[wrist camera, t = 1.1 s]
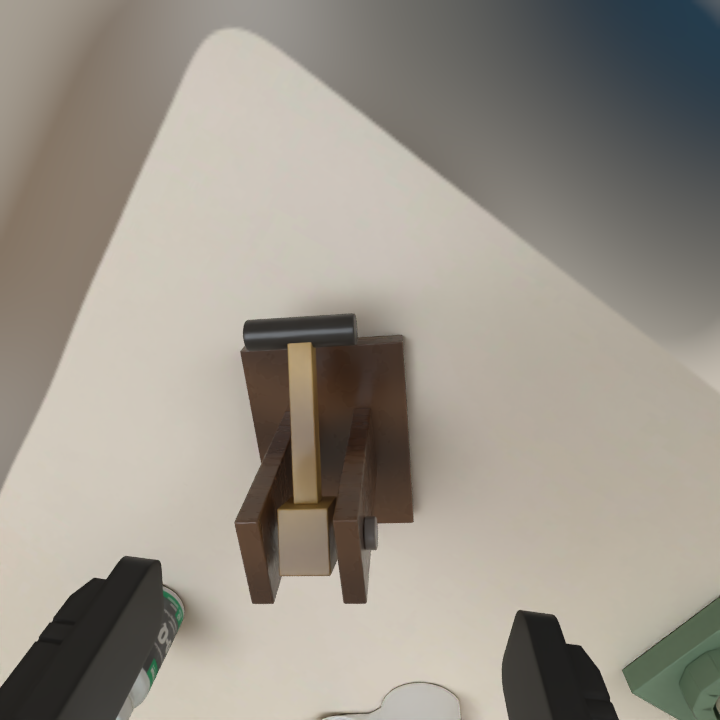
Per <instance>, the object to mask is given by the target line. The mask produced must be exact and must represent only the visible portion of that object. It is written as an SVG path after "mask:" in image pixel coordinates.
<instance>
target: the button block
mask: <svg viewBox="0 0 720 720" xmlns="http://www.w3.org/2000/svg"><path fill="white" fill-rule="evenodd" d="M622 671H623V674H624V676H625V678H626V680H627V683H628V685H629V687H630V690H631V692H632V693H633V694H635V695H636V696H638V697H640V698H642V699H643V700H645V701H647V702H649V703H650V704H652V705H654V706H656V707H657V708H659V709H661V710H663V711H664V712H666V713H668V714H670V715H671V716H673V717H675V718H677V719H678V720H720V714H719V712H718V710H717V708H716V701H717V699H718V697H719V696H720V597H719V598H718V599H716V600H715V601H714V602H712V603H711V604H710V605H709V606H707V607H706V608H705V609H703V610H702V611H701V612H699V613H698V614H697V615H695V616H694V617H693V618H691V619H690V620H689V621H687V622H686V623H685V624H683V625H682V626H681V627H679V628H678V629H677V630H675V631H674V632H673V633H671V634H670V635H669V636H667V637H666V638H665V639H663V640H662V641H661V642H659V643H658V644H657V645H655V646H654V647H653V648H651V649H650V650H649V651H647V652H646V653H645V654H643V655H642V656H641V657H639V658H638V659H637V660H635V661H634V662H633V663H631V664H630V665H629V666H627V667H626V668H625V669H623V670H622Z"/></svg>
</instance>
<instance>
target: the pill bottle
mask: <svg viewBox="0 0 720 720" xmlns="http://www.w3.org/2000/svg"><path fill="white" fill-rule="evenodd" d="M163 598H164V617H163V622H162V626H161V629H160V632H159V635H158V637H157V640H156V642H155V644H154V646H153V648H152V650H151V652H150V654H149V655H148V657H147V659H146V661H145V663H144V665H143V667H142V669H141V671H140V673H139V675H138V677H137V679H136V681H135V683H134V685H133V687H132V689H131V691H130V693H129V695H128V697H127V699H126V701H125V703H124V705H123V707H122V708H121V710H120V712H119V714H118V716H117V718H116V720H129V718H130V716H131V713H132V711H133V709H134V708H136V707H137V706H138V705H140V704H141V703H142V702H143V701H144V699H145V698H146V696H147V694H148V692H149V690H150V688H151V686H152V684H153V682H154V680H155V678H156V675H157V673H158V671H159V669H160V667H161V665H162V663H163V661H164V659H165V657H166V655H167V652H168V651H169V648H170V647H171V644H172V642H173V640H174V638H175V635H176V634H177V632H178V629H179V627H180V625H181V623H182V621H183V618H184V606H183V603H182V601H181V600H180V598H179V597H178V596H177V595H176V594H175V593H174V592H173V591H172V590H170V589H168V588H166V587H164V586H163Z"/></svg>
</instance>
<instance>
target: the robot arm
mask: <svg viewBox="0 0 720 720" xmlns="http://www.w3.org/2000/svg"><path fill="white" fill-rule="evenodd" d="M163 617H164V598H163V584H162V569H161V563H160V561H159V560H153V559H145V558H138V557H131V556H125V557H123V558H122V559H121V560H120V561H119V562H118V563H117V565H116V566H115V568H114V569H113V571H112V572H111V573H110V575H109V576H108V578H107V579H99V578H93V579H92V580H90V581H89V582H88V583H86V584H85V585H84V586H82V587H81V588H80V589H78V590H77V591H76V592H75V593H73V594H72V595H71V596H70V597H69V598H68V599H67V601H66V602H65V603H64V605H63V606H62V607H61V609H60V610H59V611H58V613H57V614H56V615H55V616H54V618H53V621H52V623H49V624H48V626H47V627H46V628H45V630H44V631H43V632H42V634H41V635H40V636H39V640H38V641H37V642H35V643H34V644H33V645H32V647H31V648H30V649H29V651H28V652H27V653H26V655H25V656H24V657H23V659H22V660H21V661H20V663H19V664H18V665H17V667H16V668H15V669H14V670H13V672H12V673H11V674H10V676H9V677H8V678H7V680H6V681H5V682H4V684H3V685H2V686H1V688H0V720H116V718H117V716H118V714H119V712H120V710H121V708H122V707H123V705H124V703H125V701H126V699H127V697H128V695H129V693H130V691H131V689H132V687H133V685H134V683H135V681H136V679H137V677H138V675H139V673H140V671H141V669H142V667H143V665H144V663H145V661H146V659H147V657H148V655H149V654H150V652H151V650H152V648H153V646H154V644H155V642H156V640H157V637H158V635H159V632H160V629H161V626H162V622H163ZM502 685H503V692H504V697H505V702H506V707H507V712H508V717H509V720H619V719H618V717H617V714H616V711H615V709H614V706H613V704H612V703H611V702H610V696H609V693H608V691H607V688H606V686H605V683H604V681H603V678H602V675H601V673H600V670H599V669H598V668H597V666H596V665H595V664H594V662H593V661H592V660H591V659H590V657H589V656H588V655H587V653H586V652H585V651H584V649H583V648H582V647H581V646H579V645H572V644H566V642H565V639H564V636H563V633H562V630H561V628H560V625H559V622H558V620H557V618H556V617H555V616H554V615H552V614H545V613H537V612H530V611H522V610H519V611H518V612H517V613H516V616H515V619H514V622H513V626H512V629H511V633H510V636H509V639H508V643H507V646H506V650H505V653H504V657H503V662H502Z"/></svg>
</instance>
